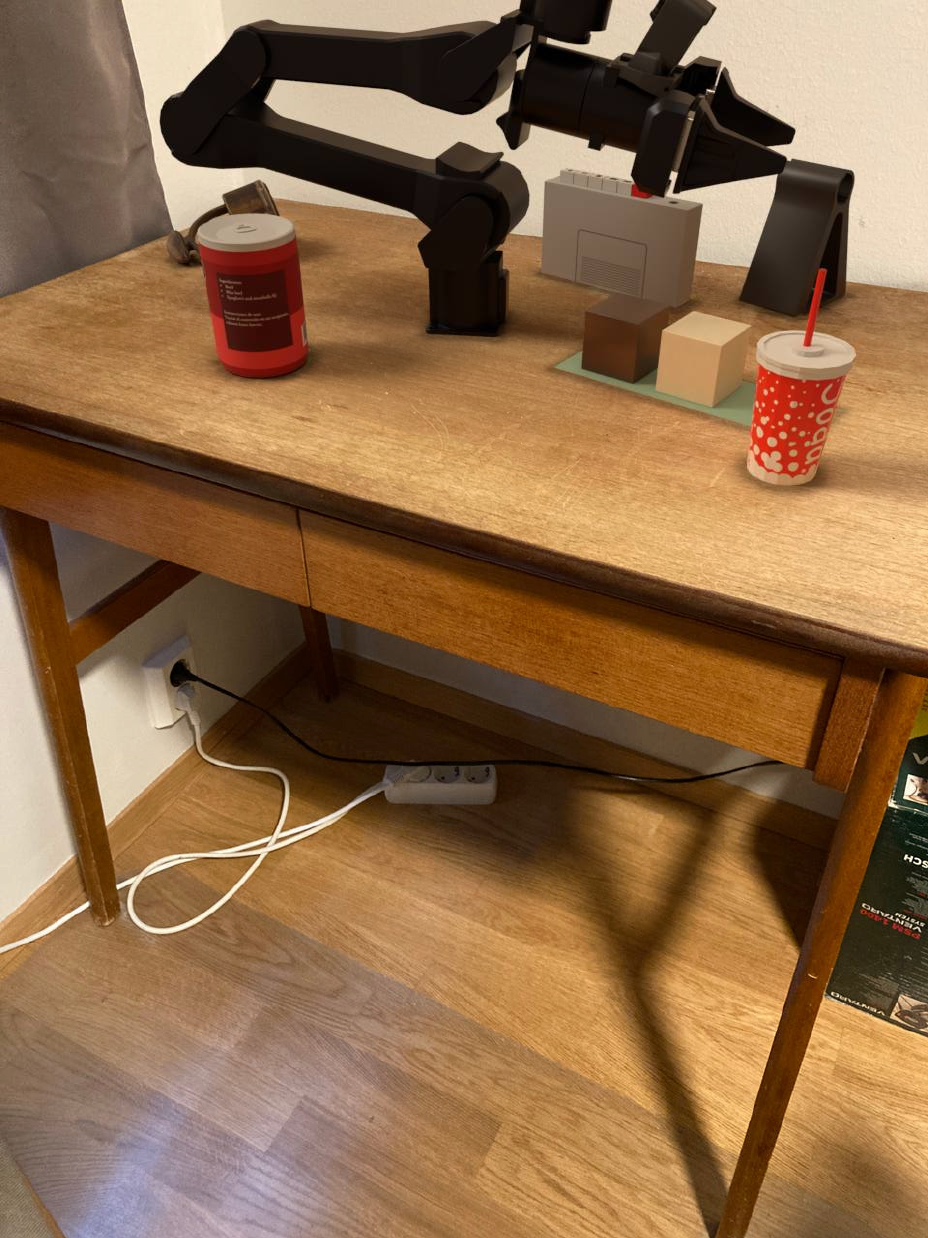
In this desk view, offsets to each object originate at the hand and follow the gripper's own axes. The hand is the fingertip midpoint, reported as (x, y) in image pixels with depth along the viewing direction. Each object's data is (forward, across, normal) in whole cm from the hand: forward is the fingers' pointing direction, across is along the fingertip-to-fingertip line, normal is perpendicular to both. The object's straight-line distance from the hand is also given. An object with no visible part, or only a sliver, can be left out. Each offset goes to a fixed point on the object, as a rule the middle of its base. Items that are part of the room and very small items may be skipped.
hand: (789, 150), depth 75 cm
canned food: (-36, -13, +23) cm, 45 cm away
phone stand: (+5, +15, +16) cm, 23 cm away
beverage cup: (+7, -19, +16) cm, 26 cm away
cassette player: (-12, +13, +19) cm, 26 cm away
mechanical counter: (-52, +12, +26) cm, 60 cm away
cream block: (-1, -8, +16) cm, 18 cm away
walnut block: (-7, -6, +18) cm, 20 cm away
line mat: (-1, -8, +17) cm, 19 cm away
